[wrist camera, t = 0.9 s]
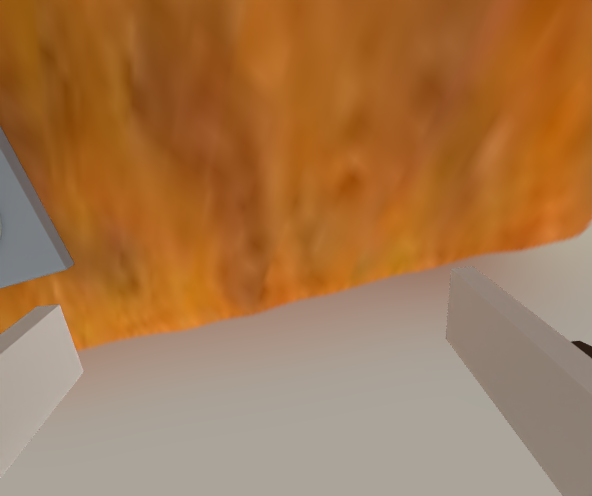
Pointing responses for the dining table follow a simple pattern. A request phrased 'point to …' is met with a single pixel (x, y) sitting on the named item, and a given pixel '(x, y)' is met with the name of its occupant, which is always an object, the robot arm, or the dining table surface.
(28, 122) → the dining table surface
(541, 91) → the dining table surface
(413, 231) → the dining table surface
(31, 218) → the board
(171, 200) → the dining table surface
